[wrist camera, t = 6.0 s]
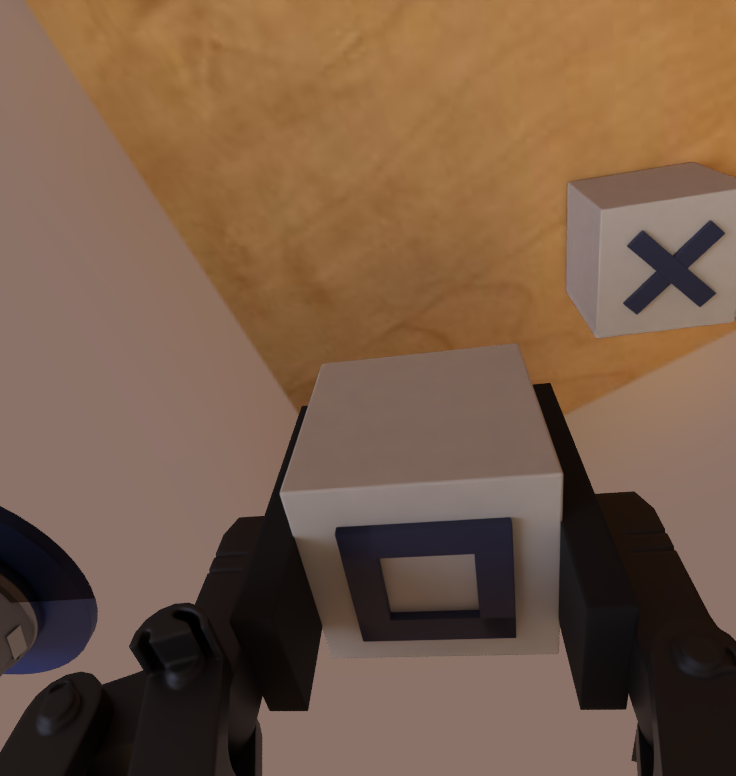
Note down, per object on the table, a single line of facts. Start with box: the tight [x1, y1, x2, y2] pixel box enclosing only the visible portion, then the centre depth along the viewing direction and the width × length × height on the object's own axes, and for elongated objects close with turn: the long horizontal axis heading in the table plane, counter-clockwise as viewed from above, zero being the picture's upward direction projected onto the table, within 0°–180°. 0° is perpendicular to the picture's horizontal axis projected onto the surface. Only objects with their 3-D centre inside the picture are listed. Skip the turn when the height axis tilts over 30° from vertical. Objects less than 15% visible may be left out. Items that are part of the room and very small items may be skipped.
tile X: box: [566, 162, 736, 338], centre depth 22 cm, size 5×5×5 cm
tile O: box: [280, 343, 563, 658], centre depth 13 cm, size 5×5×5 cm
